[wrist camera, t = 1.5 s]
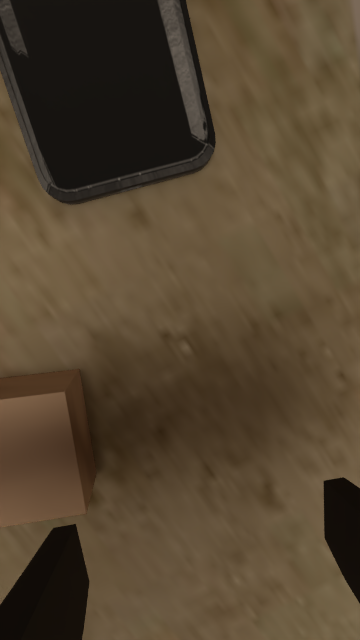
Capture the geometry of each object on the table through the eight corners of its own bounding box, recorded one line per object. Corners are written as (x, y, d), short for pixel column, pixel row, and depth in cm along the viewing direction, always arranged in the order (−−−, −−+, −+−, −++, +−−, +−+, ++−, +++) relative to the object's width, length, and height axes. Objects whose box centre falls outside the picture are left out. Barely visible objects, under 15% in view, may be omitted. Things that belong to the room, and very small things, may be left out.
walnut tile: (97, 469, 17) (86, 513, 14) (-16, 485, 16) (-53, 535, 13) (80, 366, 15) (64, 391, 12) (-43, 381, 15) (-89, 410, 12)
